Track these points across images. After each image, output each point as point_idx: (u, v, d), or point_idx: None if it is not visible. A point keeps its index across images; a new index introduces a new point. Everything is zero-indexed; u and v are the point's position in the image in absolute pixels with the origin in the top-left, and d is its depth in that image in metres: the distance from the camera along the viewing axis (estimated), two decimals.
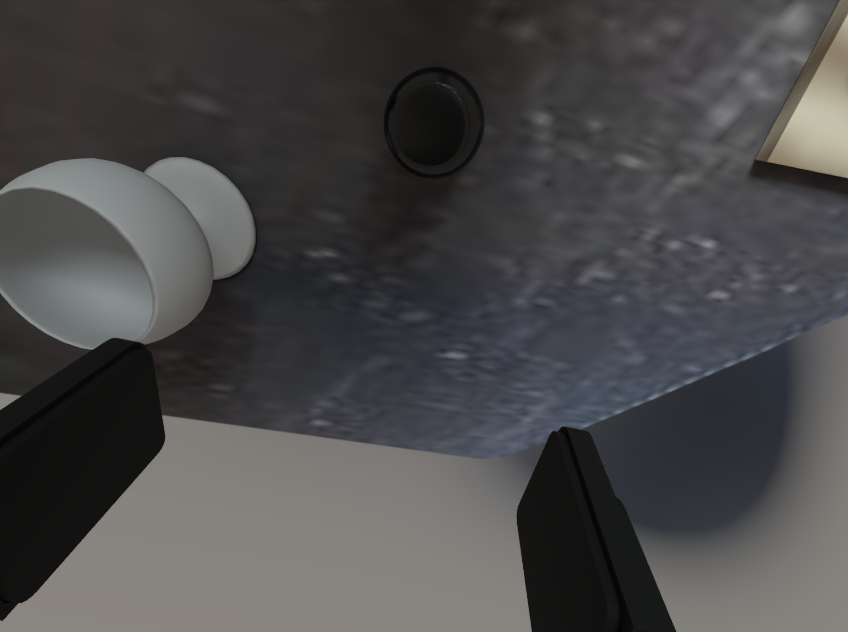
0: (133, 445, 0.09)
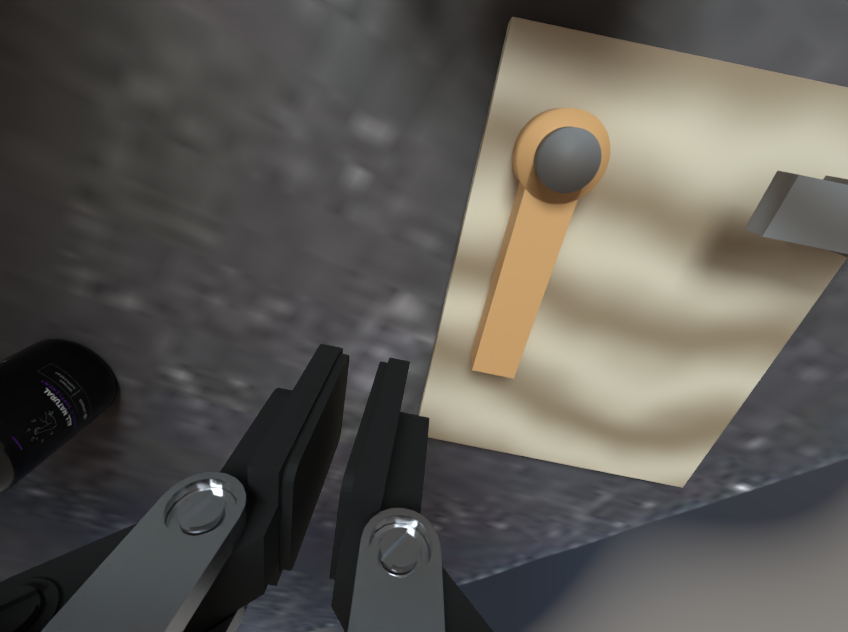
0: (333, 438, 0.10)
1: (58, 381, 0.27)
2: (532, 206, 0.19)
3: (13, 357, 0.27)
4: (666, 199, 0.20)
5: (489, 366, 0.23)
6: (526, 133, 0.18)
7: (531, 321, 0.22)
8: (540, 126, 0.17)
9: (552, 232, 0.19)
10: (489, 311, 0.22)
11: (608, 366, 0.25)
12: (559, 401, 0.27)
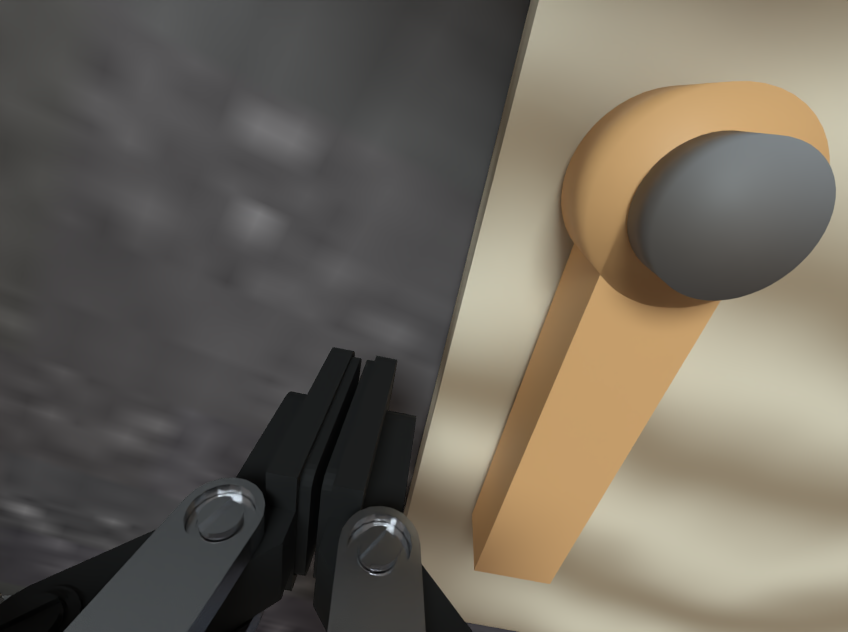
0: None
1: None
2: (613, 311, 0.08)
3: None
4: None
5: (506, 566, 0.13)
6: (614, 147, 0.07)
7: (590, 507, 0.11)
8: (652, 130, 0.07)
9: (653, 362, 0.09)
10: (508, 489, 0.11)
11: (706, 536, 0.15)
12: (615, 577, 0.16)
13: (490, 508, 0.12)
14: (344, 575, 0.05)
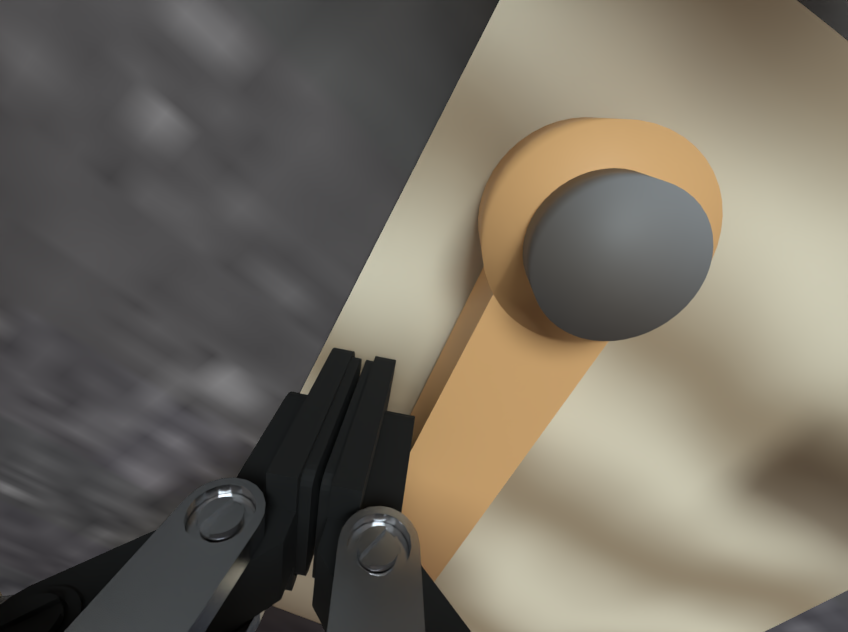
0: None
1: None
2: (503, 334, 0.08)
3: None
4: (738, 369, 0.11)
5: None
6: (518, 164, 0.07)
7: (464, 531, 0.11)
8: (556, 153, 0.06)
9: (537, 394, 0.09)
10: None
11: (537, 573, 0.15)
12: (446, 595, 0.16)
13: None
14: (343, 575, 0.05)
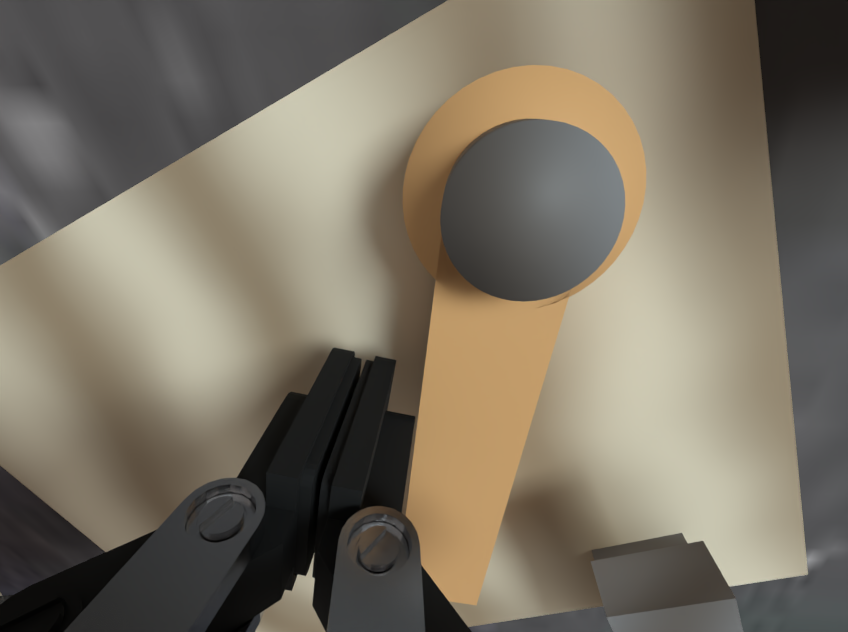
0: None
1: None
2: (460, 317, 0.08)
3: None
4: (547, 406, 0.11)
5: None
6: (414, 147, 0.07)
7: (495, 524, 0.10)
8: (446, 125, 0.06)
9: (516, 369, 0.08)
10: (407, 507, 0.11)
11: None
12: (173, 494, 0.15)
13: None
14: (343, 575, 0.05)
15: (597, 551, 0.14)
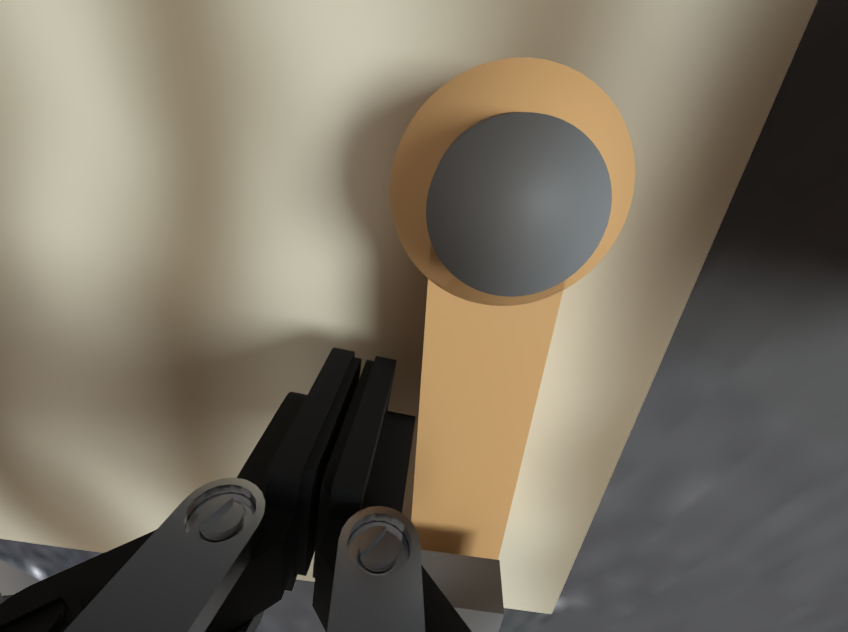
0: None
1: None
2: (454, 315, 0.08)
3: None
4: None
5: None
6: (400, 146, 0.07)
7: (501, 521, 0.10)
8: (430, 122, 0.06)
9: (513, 364, 0.08)
10: (413, 507, 0.11)
11: (98, 387, 0.13)
12: None
13: None
14: (343, 575, 0.05)
15: None
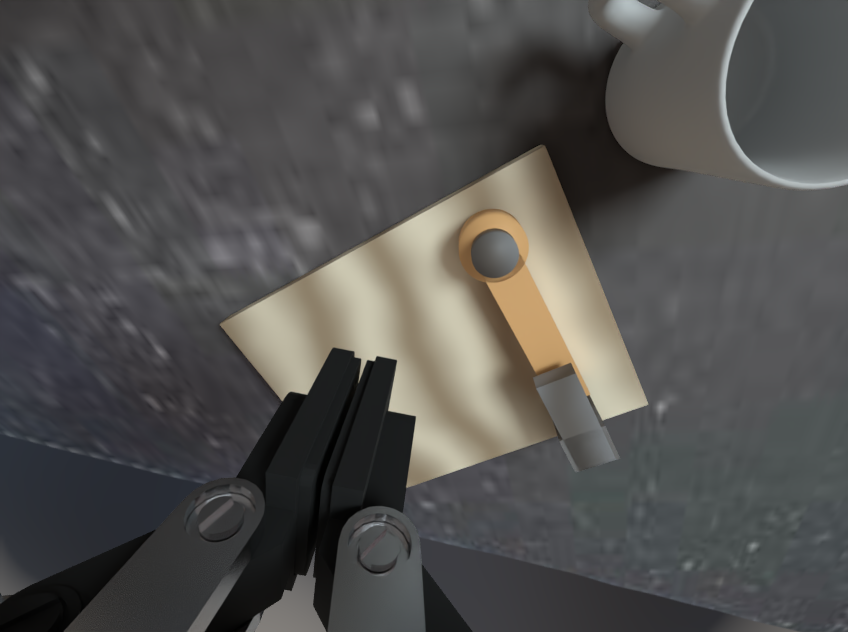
0: None
1: None
2: (500, 288, 0.24)
3: None
4: None
5: None
6: (459, 255, 0.23)
7: (566, 351, 0.26)
8: (463, 246, 0.23)
9: (527, 292, 0.24)
10: (531, 364, 0.26)
11: (396, 392, 0.31)
12: None
13: None
14: (344, 575, 0.05)
15: None
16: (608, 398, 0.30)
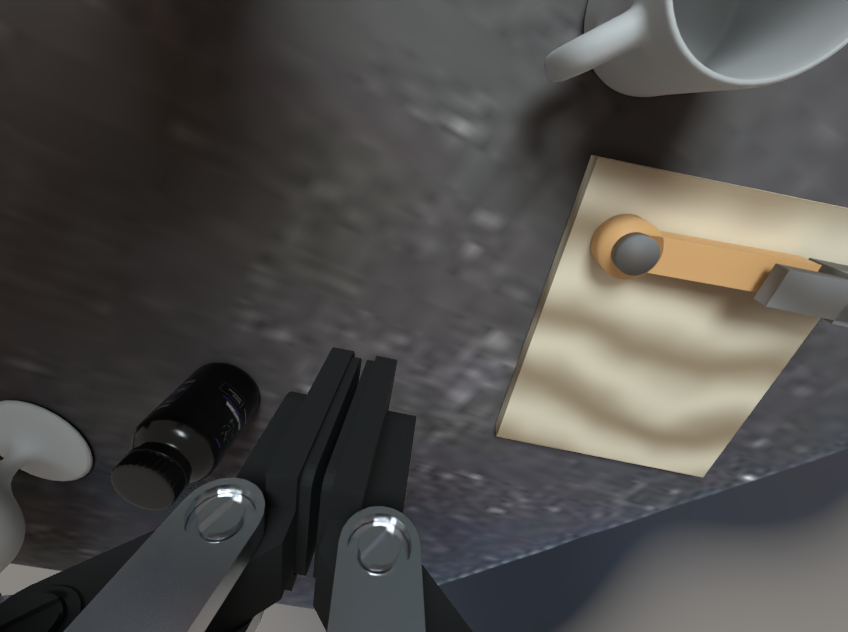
0: None
1: (232, 396, 0.35)
2: (660, 266, 0.27)
3: (197, 378, 0.36)
4: None
5: None
6: (610, 274, 0.27)
7: (762, 257, 0.26)
8: (607, 267, 0.27)
9: (684, 250, 0.26)
10: (741, 289, 0.27)
11: (650, 385, 0.34)
12: (611, 411, 0.35)
13: None
14: (344, 575, 0.05)
15: None
16: (844, 247, 0.27)
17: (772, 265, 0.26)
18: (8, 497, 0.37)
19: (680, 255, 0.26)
